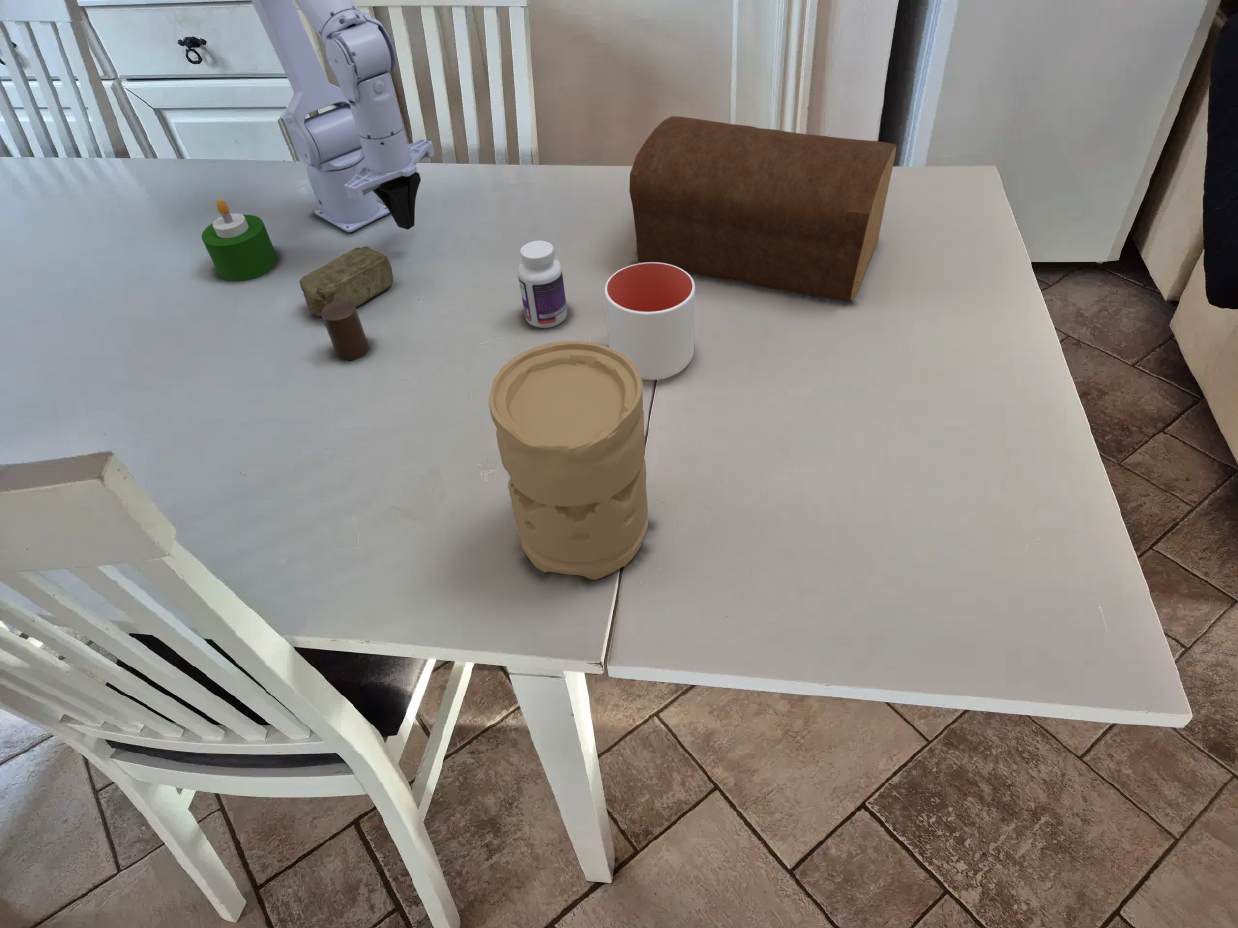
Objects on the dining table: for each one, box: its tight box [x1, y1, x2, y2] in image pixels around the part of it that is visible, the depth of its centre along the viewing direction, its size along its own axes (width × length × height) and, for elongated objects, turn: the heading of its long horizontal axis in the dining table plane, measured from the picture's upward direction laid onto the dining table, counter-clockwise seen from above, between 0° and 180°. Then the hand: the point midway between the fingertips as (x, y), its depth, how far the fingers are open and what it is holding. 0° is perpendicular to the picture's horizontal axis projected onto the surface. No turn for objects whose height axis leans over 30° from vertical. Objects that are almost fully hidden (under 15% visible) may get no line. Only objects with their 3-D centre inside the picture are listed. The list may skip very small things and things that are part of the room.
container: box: [488, 340, 649, 581], centre depth 72 cm, size 13×13×18 cm
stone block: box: [299, 245, 394, 318], centre depth 107 cm, size 6×12×5 cm, turn 141°
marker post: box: [321, 301, 370, 361], centre depth 98 cm, size 4×4×6 cm
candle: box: [201, 198, 278, 282], centre depth 112 cm, size 8×8×10 cm
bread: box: [628, 115, 897, 302], centre depth 105 cm, size 18×30×16 cm, turn 67°
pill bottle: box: [517, 240, 568, 329], centre depth 100 cm, size 5×5×10 cm
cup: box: [603, 262, 696, 381], centre depth 93 cm, size 10×10×10 cm
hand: (406, 226), depth 113 cm, fingers closed
